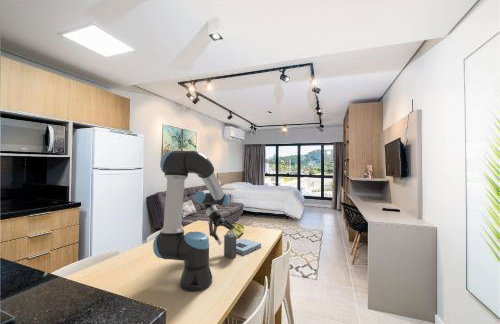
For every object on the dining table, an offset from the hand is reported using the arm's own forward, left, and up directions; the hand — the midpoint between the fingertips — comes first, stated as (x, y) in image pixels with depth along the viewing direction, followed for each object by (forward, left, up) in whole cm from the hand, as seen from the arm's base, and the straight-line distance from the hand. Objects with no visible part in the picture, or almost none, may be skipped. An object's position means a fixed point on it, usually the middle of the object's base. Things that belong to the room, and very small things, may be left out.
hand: (228, 241), depth 139 cm
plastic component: (+32, +25, -9) cm, 41 cm away
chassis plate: (+15, +1, -8) cm, 17 cm away
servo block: (-1, -2, -8) cm, 9 cm away
